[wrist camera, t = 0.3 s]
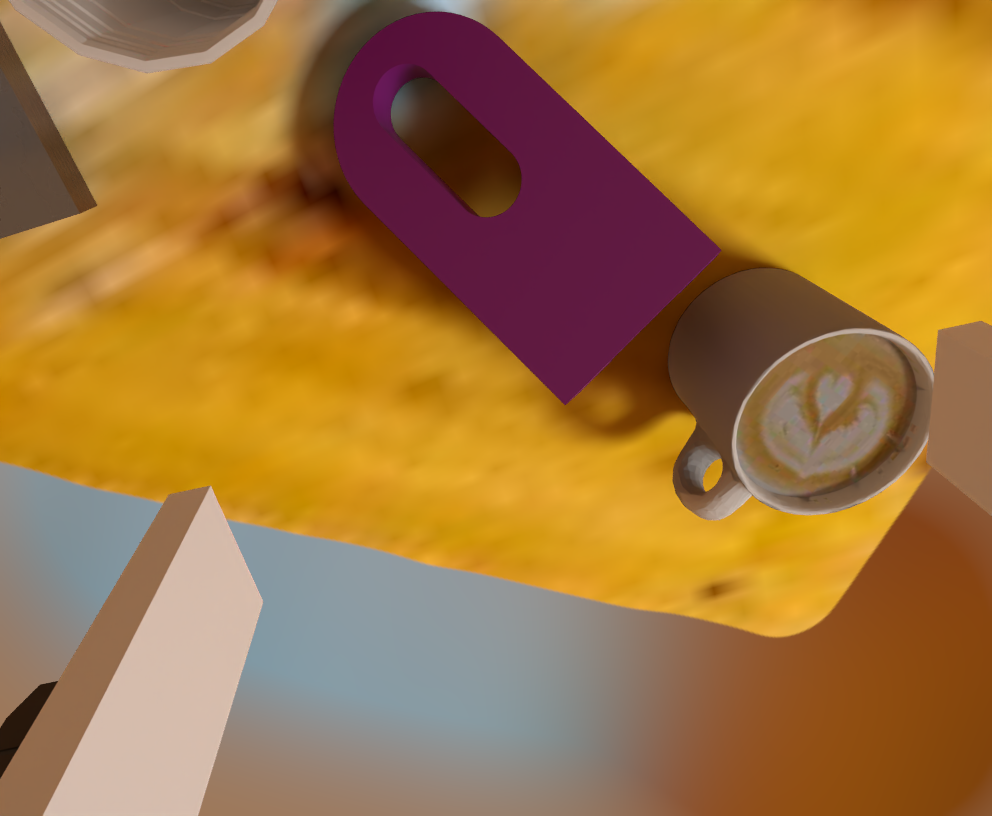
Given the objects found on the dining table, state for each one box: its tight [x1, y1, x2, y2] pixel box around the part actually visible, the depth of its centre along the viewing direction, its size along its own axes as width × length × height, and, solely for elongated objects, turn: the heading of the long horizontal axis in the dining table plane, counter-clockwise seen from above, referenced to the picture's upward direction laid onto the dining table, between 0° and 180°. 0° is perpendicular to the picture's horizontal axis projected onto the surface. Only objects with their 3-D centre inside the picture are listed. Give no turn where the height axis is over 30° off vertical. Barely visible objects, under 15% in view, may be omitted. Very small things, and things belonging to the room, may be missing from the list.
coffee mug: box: [668, 268, 934, 520], centre depth 39 cm, size 13×10×10 cm
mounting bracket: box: [334, 12, 721, 405], centre depth 36 cm, size 9×8×18 cm
